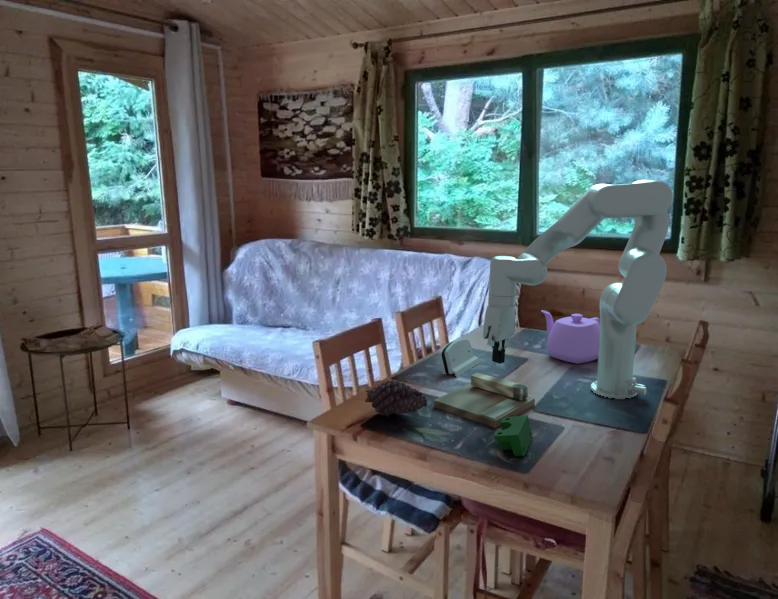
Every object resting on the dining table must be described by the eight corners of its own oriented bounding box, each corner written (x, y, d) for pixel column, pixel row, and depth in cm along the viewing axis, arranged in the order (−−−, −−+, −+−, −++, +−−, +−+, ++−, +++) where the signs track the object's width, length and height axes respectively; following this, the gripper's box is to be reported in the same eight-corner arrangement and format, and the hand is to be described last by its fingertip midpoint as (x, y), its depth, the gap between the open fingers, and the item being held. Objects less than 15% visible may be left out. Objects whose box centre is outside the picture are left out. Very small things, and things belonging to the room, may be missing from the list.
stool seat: (534, 405, 161) (534, 397, 160) (495, 428, 148) (496, 419, 147) (474, 387, 174) (474, 380, 174) (433, 406, 161) (433, 399, 160)
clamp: (509, 455, 143) (505, 417, 145) (534, 453, 140) (529, 415, 142) (494, 457, 132) (490, 416, 135) (520, 456, 130) (515, 414, 132)
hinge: (456, 377, 182) (447, 347, 182) (444, 379, 185) (434, 349, 185) (480, 362, 196) (471, 334, 196) (468, 364, 199) (459, 336, 198)
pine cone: (432, 413, 157) (432, 378, 155) (420, 429, 148) (420, 391, 146) (371, 404, 163) (370, 370, 161) (356, 419, 154) (355, 383, 152)
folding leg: (529, 396, 160) (529, 386, 160) (521, 400, 158) (522, 390, 157) (477, 382, 172) (478, 372, 171) (470, 385, 169) (470, 375, 168)
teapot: (617, 356, 200) (620, 313, 197) (580, 369, 188) (582, 324, 184) (562, 341, 218) (564, 301, 214) (524, 352, 205) (525, 310, 202)
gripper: (504, 294, 173) (501, 353, 178) (475, 302, 163) (472, 364, 167) (527, 298, 168) (523, 359, 173) (498, 306, 158) (494, 371, 162)
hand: (498, 361), depth 170 cm, fingers closed
